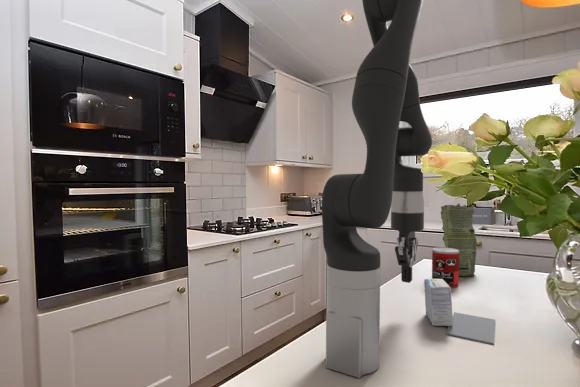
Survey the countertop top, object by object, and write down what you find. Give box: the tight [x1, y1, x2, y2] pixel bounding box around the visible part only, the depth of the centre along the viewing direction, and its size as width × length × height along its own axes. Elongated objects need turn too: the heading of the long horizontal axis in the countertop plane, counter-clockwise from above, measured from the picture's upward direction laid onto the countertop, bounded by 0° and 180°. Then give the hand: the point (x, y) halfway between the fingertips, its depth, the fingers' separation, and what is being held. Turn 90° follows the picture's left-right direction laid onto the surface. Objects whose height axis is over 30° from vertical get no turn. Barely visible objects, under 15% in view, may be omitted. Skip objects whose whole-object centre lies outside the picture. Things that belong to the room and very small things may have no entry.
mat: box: [445, 311, 496, 346], centre depth 76 cm, size 14×9×1 cm, turn 148°
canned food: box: [431, 246, 460, 288], centre depth 109 cm, size 8×8×11 cm
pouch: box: [440, 202, 478, 277], centre depth 122 cm, size 11×12×25 cm
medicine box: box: [423, 278, 453, 327], centre depth 80 cm, size 8×4×9 cm, turn 168°
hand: (406, 281), depth 83 cm, fingers closed
